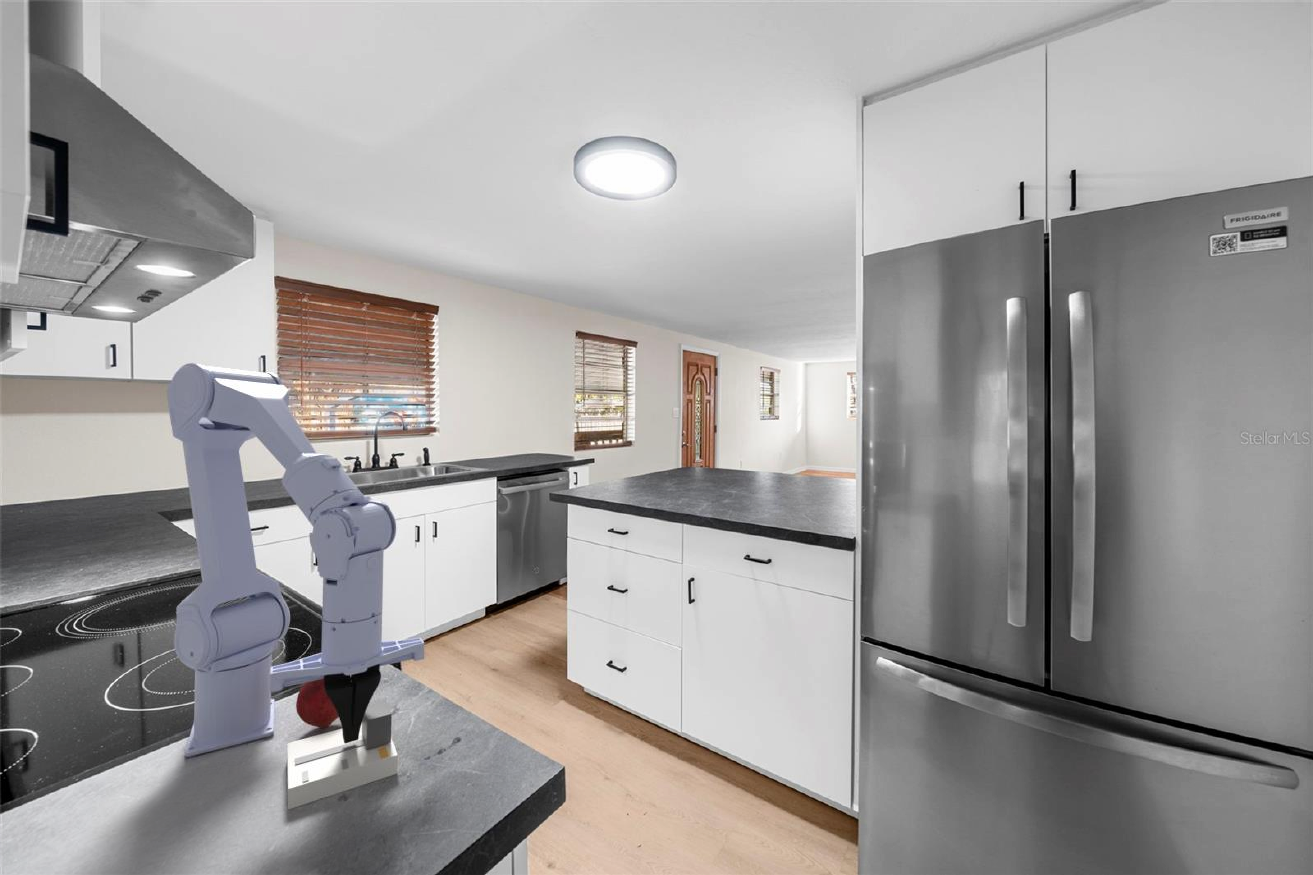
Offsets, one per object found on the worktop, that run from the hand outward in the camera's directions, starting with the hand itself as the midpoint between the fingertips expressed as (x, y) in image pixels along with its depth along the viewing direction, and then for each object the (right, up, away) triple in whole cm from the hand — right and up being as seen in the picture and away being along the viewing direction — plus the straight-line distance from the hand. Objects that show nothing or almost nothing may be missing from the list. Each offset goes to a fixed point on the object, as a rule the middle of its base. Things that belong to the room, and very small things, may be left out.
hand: (350, 737), depth 57 cm
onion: (-7, -3, +7) cm, 11 cm away
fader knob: (+2, -1, +1) cm, 3 cm away
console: (-1, -3, 0) cm, 3 cm away
